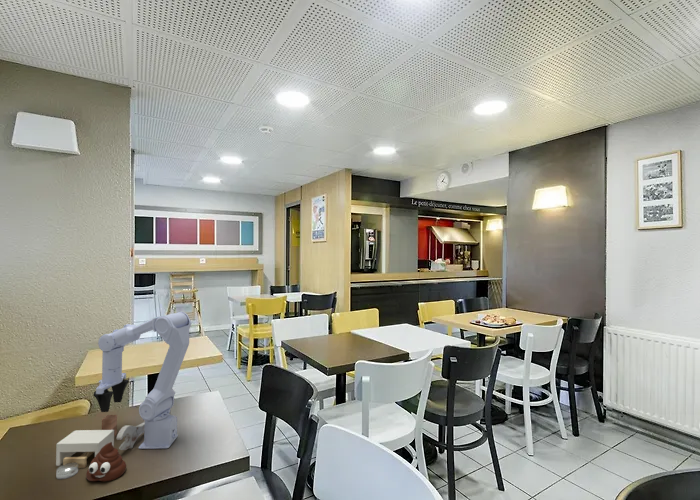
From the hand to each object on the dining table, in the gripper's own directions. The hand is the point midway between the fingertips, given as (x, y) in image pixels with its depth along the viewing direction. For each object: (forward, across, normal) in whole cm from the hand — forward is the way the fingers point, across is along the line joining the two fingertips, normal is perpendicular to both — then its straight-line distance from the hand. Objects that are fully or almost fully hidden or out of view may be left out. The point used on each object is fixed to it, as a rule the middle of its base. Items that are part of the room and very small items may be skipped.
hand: (111, 406), depth 125 cm
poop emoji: (+10, +22, +11) cm, 27 cm away
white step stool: (+10, +13, 0) cm, 17 cm away
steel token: (+10, +21, 0) cm, 24 cm away
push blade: (+10, +9, 0) cm, 14 cm away
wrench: (+10, -1, +12) cm, 16 cm away
